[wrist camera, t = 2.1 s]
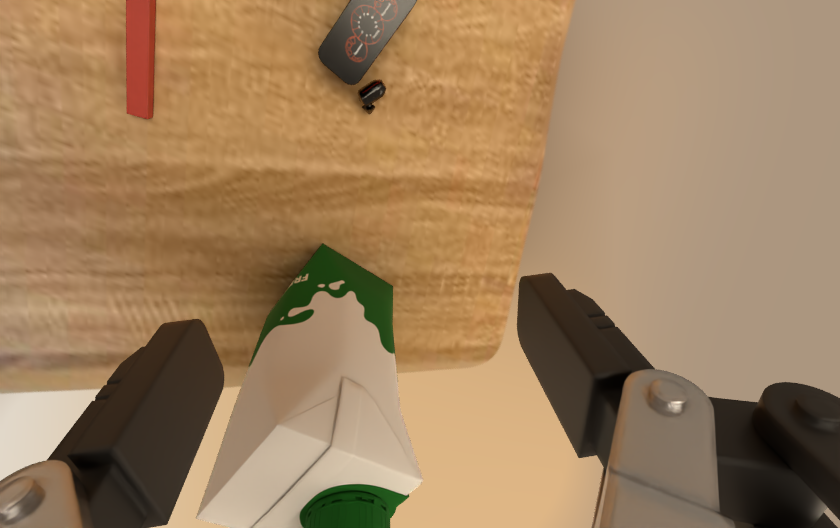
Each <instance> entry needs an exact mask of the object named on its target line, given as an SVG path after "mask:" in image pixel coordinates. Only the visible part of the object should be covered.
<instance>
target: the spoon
mask: <svg viewBox="0 0 840 528" xmlns="http://www.w3.org/2000/svg"><path fill="white" fill-rule="evenodd" d="M155 5H156V0H126V65H127V114H131V115H134V116H138V117H142V118H145V119H149V118H152V117H153V92H154V48H155Z"/></svg>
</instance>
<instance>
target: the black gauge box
mask: <svg viewBox="0 0 840 528" xmlns="http://www.w3.org/2000/svg"><path fill="white" fill-rule="evenodd" d="M416 1H417V0H350V2H349V3H348V5H347V6H346V8H345V9H344V11H343V12H342V14H341V15H340V17H339V19H338V20H337V22H336V23H335V25H334V26H333V28H332V29H331V31H330V32H329V34H328V35H327V37H326V38H325V40H324V41H323V43H322V44H321V46H320V48H319V51H318V55H319V58H320V60H321V62H322V63H323V64H324V65H325V66H327V67H328V68H329V69H330V70H331V71H332V72H333V73H335V74H336V75H337V76H338V77H339V78H340V79H342V80H343V81H344V82H345V83H347V84H350V85H355V84H357V83H358V82H359V81H360V80H361V78H362V77H363V76H364V74H365V73H366V72H367V70H368V69H369V67H370V66H371V65H372V63H373V62H374V60H375V59H376V58H377V56H378V55H379V54H380V52H381V51H382V49H383V48H384V47H385V45H386V44H387V42H388V41H389V40H390V38H391V37H392V36H393V34H394V33H395V31H396V30H397V29H398V27H399V26H400V24H401V23H402V22H403V20H404V19H405V18H406V16H407V15H408V13H409V12H410V11H411V9H412V8H413V6H414V5H415V3H416ZM385 91H386V87H385V85H384V83H383V81H382V80H373V81H371V82H370V83H368V84H367V85H366V86H364V87H363V88H361V89H360V90H359V91H358V96H359V100H360V101H361V103H363V104H364V105H363V106H362V108H363V109H364V110H365V111H366V112H367V113H368V114H371V113H372V112H373V110H374V109H375V106H374V105H372V103H374V102H375V101H377V100H378V99H380V98H381V97H382V96H383V95H384V94H385Z"/></svg>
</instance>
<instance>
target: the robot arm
mask: <svg viewBox="0 0 840 528" xmlns="http://www.w3.org/2000/svg"><path fill="white" fill-rule="evenodd" d="M517 331H518V337H519V341H520V344H521V347H522V349H523V351H524V353H525V355H526V357H527V359H528V361H529V363H530V365H531V367H532V369H533V370H534V372H535V374H536V376H537V378H538V380H539V382H540V384H541V386H542V388H543V390H544V392H545V394H546V395H547V397H548V399H549V401H550V403H551V405H552V407H553V409H554V411H555V413H556V415H557V417H558V419H559V421H560V423H561V425H562V426H563V428H564V430H565V432H566V434H567V436H568V438H569V440H570V442H571V444H572V446H573V448H574V450H575V452H576V453H577V455H578V457H579V458H583V457H589V456H594V455H597V456H598V458H599V459H600V461H601V463H602V465H603V467H604V468H603V472H602V477H601V482H600V487H599V492H598V497H597V502H596V507H595V512H594V517H593V522H592V528H837V526H836V525H835V524H834V523H833V522H832V521H831V520H830V519H829V518H828V517H827V516H826V514H825V513H824V511H825V510H826V509H827V507H828V508H829V509H830V510H831V511H832V512H833V513H834V514H835V516H836V517H837V518H838V519H839V520H840V398H838V397H836V396H834V395H832V394H830V393H828V392H825V391H823V390H820V389H817V388H814V387H811V386H808V385H803V384H798V383H789V382H782V383H775V384H772V385H770V386H768V387H767V388H765V390H764V391H763V393H762V396H761V398H760V400H759V402H749V401H738V400H729V399H721V398H712V397H708V396H707V395H706V394H705V393H704V392H703V391H702V390H701V389H700V388H699V387H698V386H696V385H695V384H694V383H692V382H690V381H689V380H687V379H685V378H683V377H681V376H679V375H677V374H674V373H671V372H667V371H662V370H655V368H654V367H653V366H652V365H651V364H650V363H649V362H648V361H647V359H646V358H645V357H644V356H643V355H642V354H641V353H640V352H639V351H638V350H637V348H636V347H635V346H634V345H633V344H632V343H631V342H630V341H629V339H628V338H627V337H626V336H625V335H624V334H623V333H622V332H621V330H620V329H619V328H618V327H615V324H614V323H613V322H612V320H611V319H610V318H609V317H608V316H605V313H604V311H603V310H602V309H601V308H600V307H599V306H598V305H597V304H596V303H595V301H593V299H591V298H589V297H588V296H586V295H584V294H582V293H581V292H579V291H577V290H575V289H571V290H566V289H565V288H564V287H563V285H562V284H561V283H560V282H559V280H558V279H557V278H556V277H555V276H554V275H553V274H552V273H545V274H538V275H531V276H523V277H521V279H520V282H519V299H518V316H517ZM223 386H224V371H223V366H222V364H221V361H220V359H219V357H218V354H217V352H216V350H215V348H214V345H213V343H212V341H211V338H210V336H209V334H208V331H207V329H206V327H205V325H204V323H203V322H202V321H201V320H199V319H192V320H185V321H177V322H170V323H164V324H162V325H161V326H160V327H159V329H158V330H157V331H156V333H155V334H154V335H153V337H152V338H151V340H150V341H149V342H148V344H147V345H146V346H145V347H141V348H140V349H139V350H137V351H136V352H135V353H134V354H132V355H131V356H130V357H129V358H127V359H126V360H125V361H124V362H122V363H121V364H120V365H119V367H118V368H117V369H116V371H115V372H114V373H113V374H112V376H111V377H110V378H109V380H108V381H107V385H104V386H103V388H102V389H101V390H100V392H99V393H98V394H97V395H96V397H95V398H96V399H95V401H92V402H91V403H90V404H89V406H88V407H87V408H86V410H85V411H84V412H83V414H82V415H81V416H80V418H79V419H78V420H77V421H76V423H75V424H74V425H73V427H72V428H71V429H70V431H69V432H68V433H67V435H66V436H65V437H64V439H63V440H62V441H61V442H60V444H59V445H58V446H57V448H56V449H55V450H54V452H53V453H52V454H51V455H50V457H49V458H48V459H47V461H42V462H38V463H35V464H32V465H29V466H27V467H25V468H22V469H20V470H18V471H16V472H14V473H13V474H11V475H9V476H7V477H6V478H4V479H3V480H1V481H0V528H150V527H156V526H162V525H167V523H168V521H169V519H170V516H171V514H172V511H173V509H174V507H175V504H176V501H177V499H178V497H179V494H180V492H181V489H182V487H183V485H184V482H185V480H186V477H187V475H188V473H189V470H190V468H191V465H192V463H193V460H194V458H195V456H196V453H197V451H198V448H199V446H200V443H201V441H202V439H203V436H204V433H205V431H206V429H207V427H208V424H209V422H210V419H211V417H212V414H213V412H214V410H215V407H216V404H217V402H218V400H219V397H220V395H221V392H222V390H223Z"/></svg>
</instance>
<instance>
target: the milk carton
mask: <svg viewBox="0 0 840 528" xmlns="http://www.w3.org/2000/svg"><path fill="white" fill-rule="evenodd" d="M392 322H393V286H392V285H390V284H388V283H387V282H385V281H383V280H382V279H380V278H379V277H377V276H375V275H374V274H372V273H370V272H369V271H367V270H365V269H364V268H362V267H361V266H359V265H357V264H356V263H354V262H352V261H351V260H349V259H347V258H346V257H344V256H342V255H341V254H339V253H338V252H336V251H334V250H333V249H331V248H329V247H328V246H326V245H325V244H322V245H321V246H320V247H319V249H318V250H317V251H316V253H315V254H314V255H313V256H312V258H311V259H310V260H309V261H308V263H307V264H306V265H305V267H304V268H303V269H302V270H301V272H300V273H299V274H298V275H297V277H296V278H295V279H294V281H293V282H292V283H291V285H290V286H289V287H288V289H287V290H286V291H285V293H284V294H283V295H282V296H281V298H280V299H279V300H278V302H277V303H276V304H275V306H274V307H273V308H272V310H271V311H270V313H269V314H268V316H267V318H266V321H265V324H264V326H263V329H262V332H261V334H260V337H259V340H258V342H257V345H256V348H255V351H254V353H253V356H252V359H251V362H250V364H249V367H248V370H247V373H246V375H245V378H244V381H243V383H242V386H241V389H240V392H239V394H238V398H237V400H236V403H235V405H234V408H233V411H232V414H231V417H230V420H229V423H228V426H227V429H226V432H225V435H224V438H223V441H222V444H221V447H220V450H219V453H218V456H217V459H216V462H215V465H214V468H213V471H212V473H211V476H210V479H209V482H208V485H207V488H206V490H205V494H204V496H203V499H202V502H201V505H200V508H199V511H198V513H197V516H196V519H199V520H203V521H207V522H210V523H214V524H218V525H222V526H226V527H229V528H390V518H391V517H392V516H393V514H394V513H395V510H396V507H397V506H398V505H399V504H401V503H402V502H404V501H405V500H406V499H407V498H408V497H409V493H410V492H412V491H413V490H414V489H415V488H417V487H418V486H419V485H420V484H421V483H422V481H423V478H422V475H421V472H420V469H419V466H418V463H417V459H416V456H415V454H414V450H413V447H412V444H411V441H410V438H409V435H408V432H407V429H406V426H405V423H404V419H403V416H402V413H401V409H400V402H399V401H400V400H399V390H398V380H397V369H396V358H395V347H394V336H393V325H392Z"/></svg>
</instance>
